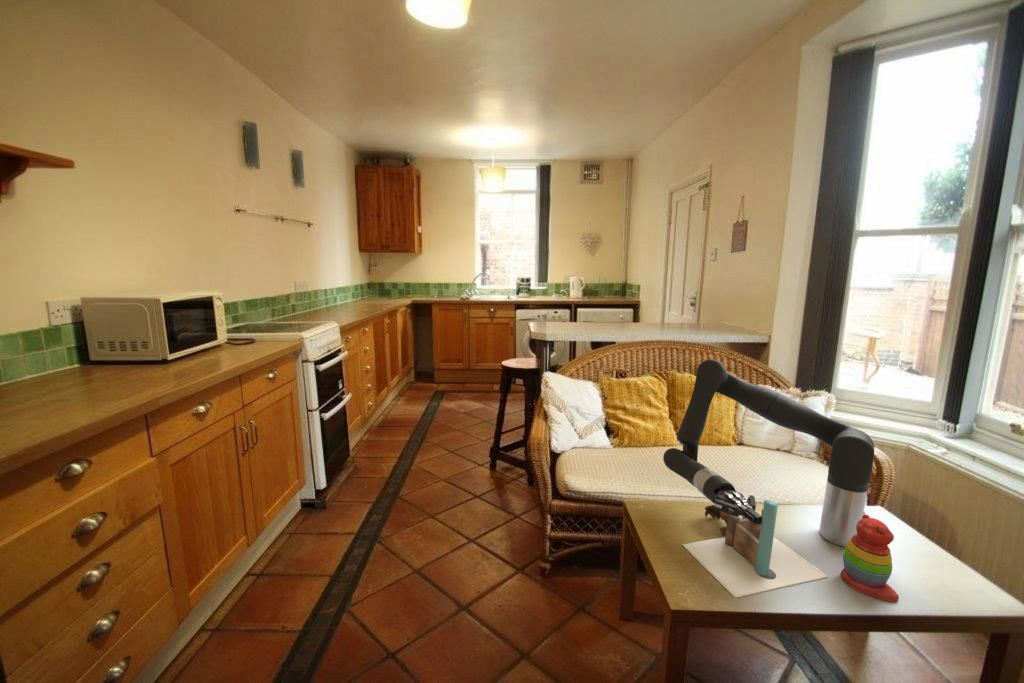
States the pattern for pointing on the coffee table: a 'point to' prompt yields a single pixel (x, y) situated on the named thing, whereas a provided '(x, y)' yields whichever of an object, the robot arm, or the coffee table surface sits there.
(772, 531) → the l-shaped post
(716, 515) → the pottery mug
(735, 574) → the card
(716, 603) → the coffee table surface
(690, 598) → the coffee table surface
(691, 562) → the coffee table surface
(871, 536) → the stacking bear
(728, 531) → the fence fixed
